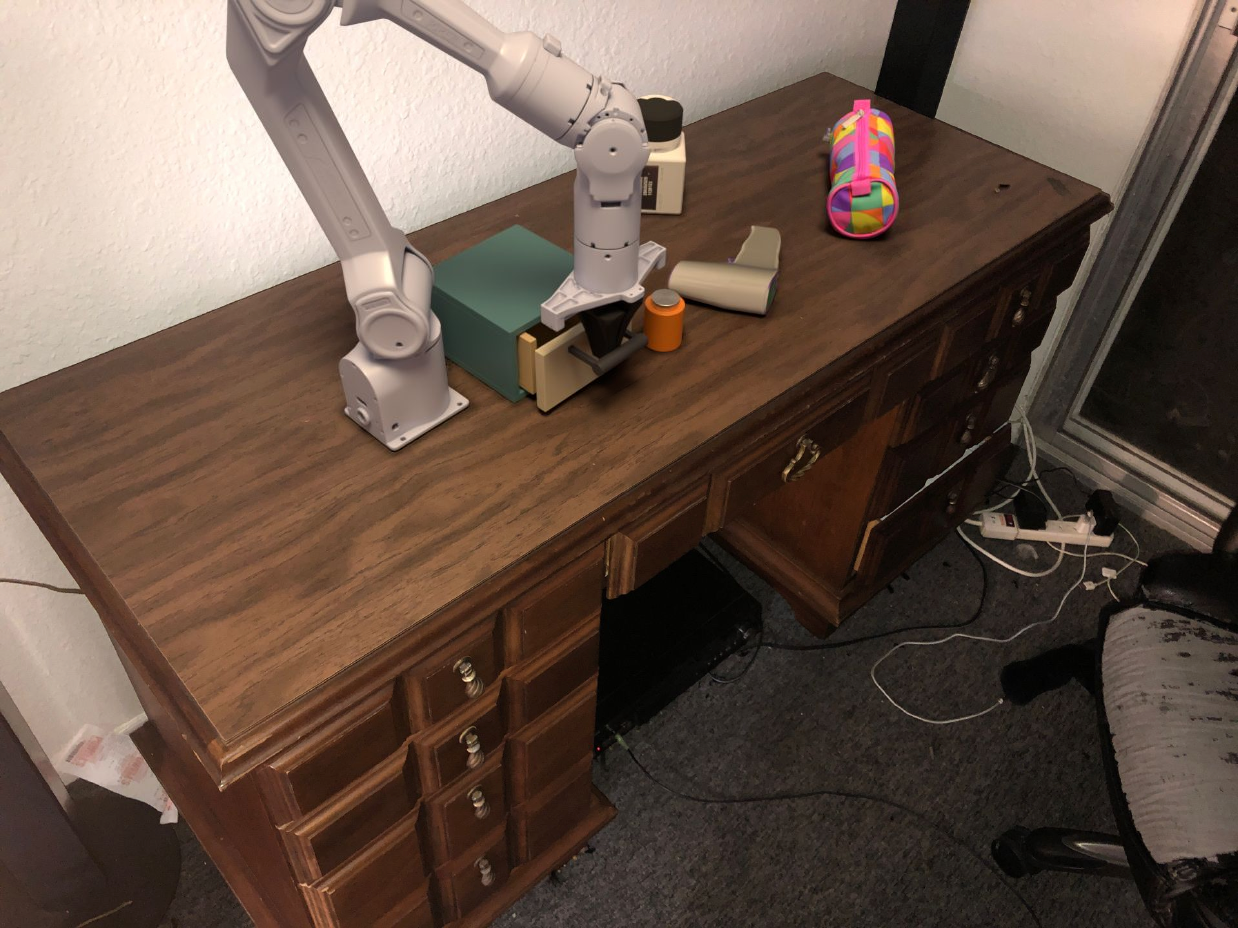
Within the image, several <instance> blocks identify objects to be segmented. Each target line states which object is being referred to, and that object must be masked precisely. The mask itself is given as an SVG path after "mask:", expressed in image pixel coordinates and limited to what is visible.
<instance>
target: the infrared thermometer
mask: <svg viewBox="0 0 1238 928" xmlns="http://www.w3.org/2000/svg"><path fill="white" fill-rule="evenodd" d="M781 240H782V239H781V234H780V231H779V230H778V229H777V228H776V227H770V226H762V225H751V227H750V233H749V236H748V237H747V238H746V240H744V242H743V244H742V245H741V248H740V251H739V253H738V254H737V255H736V257H733V256H732V257H728V258H727V261H704V260H703V261H702V260H687V259H683V260H682V259H681V260H680V261H678V262H677V263H676V264H675V265H674V266H673V268H672V269H671V271H670V274H669V276H668V279H667V284H666V285H667V287H666V289H669V290H673V291H675V292H676V293H678V295H679V296H680V297H681V298H683V299H684V298H685V299H687V300H688V299H689V300H692V301H695V302H699V303H703V304H706V305H710V306H714V307H717V308H720V309H724V310H730V311H735V312H736V311H737V312H743V313H749V314H757V315H763V316H764V315H767V313H768V311H769V310H770V308H771V305H772V303H773V301H774V298H775V296H776V293H777V290H778V287H779V282H780V278H781V269H779V266H780V261H779V258H780V251H781V246H782V245H781V244H782V241H781Z"/></svg>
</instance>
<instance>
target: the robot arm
mask: <svg viewBox="0 0 1238 928" xmlns="http://www.w3.org/2000/svg"><path fill="white" fill-rule="evenodd" d="M335 8H341V15H340V19H339V20H340V21H339V25H340V26H341V27H349V26H354V25H359V24H364V23H369V22H373V21H377V20H387V21H390V22H392V23H394V24H395V25H397V26H399V27H400V28H402V29H403V30H405V31H407V32H409V33H410V34H412V35H414V36H415V37H417V38H419V39H421V40H422V41H424V42H426V43H428V44H429V45H431V46H433V47H434V48H436V49H438V50H439V51H441V52H443V53H444V54H446V55H448V56H449V57H452V58H453V59H455V60H456V61H458V62H460V63H462V64H464V65H465V66H467V67H468V68H470V69H472V70H473V71H475V72H477V73H479V74H480V75H482V76H483V77H484V80H485V82H486V83H485V84H486V87H487V91H488V95H489V98H490V100H491V101H492V102H494V103H496V104H497V105H499V106H500V107H502V108H503V109H505V110H506V111H508V112H510V113H511V114H513V115H514V116H516V117H518V119H521V121H523V122H525V123H527V124H528V125H530V126H531V127H533V128H534V129H536V130H537V131H539V132H541V133H542V134H544V135H545V136H547V137H548V138H550V139H551V140H553V141H554V142H556V143H558V144H559V145H562V146H564V147H567V148H570V149H572V150H573V154H574V160H575V162H576V176H575V179H574V181H573V255H574V270H573V271H572V272H571V273H570V275H569V276H568V277H567V278H566V280H565V281H564V282H563V283H562V285H561V286H560V287H559V288H558V290H557V291H556V292H555V293H554V295H553V296H552V297H551V298H550V299H548V300H547V301H546V302H544V303H543V304H541V322H542V323H543V324H545V325H546V326H548V327H549V328H551V329H553V330H555V331H559V330H561V329H562V328H564V321H565V320H567V319H568V318H570V317H572V316H573V315H575V314H577V316H578V318H579V319H580V321H581V323H582V325H583V327H584V329H585V332H586V334H587V337H588V340H589V344H590V347H591V351H592V354H593V355H594V356H595V357H597V358H598V359H600V358H602V357H603V356H605V355H606V354H608V353H609V352H611V351H612V350H614V349H616V348H617V347H619V346H620V345H621V343H622V340H623V337H624V334H625V332H626V329H627V327H628V325H629V323H630V321H631V319H632V320H633V318H634V316H635V314H636V313H637V312H638V310H639V309H640V308H641V307H642V306H643V304H644V297H645V293H646V292H645V291H646V290H645V289H646V288H645V287H643V286H642V284H643V283H644V281H645V280H646V278H647V277H648V275H649V274H650V273H651V272H652V269H655V270H661V269H662V268H664V267H666V259H667V247H664V246H663V245H660V244H658V243H657V242H654V241H652V240H649V241H647V242H646V243H643V244H641V245H640V240H641V238H640V237H641V221H642V213H641V201H642V183H641V181H640V178H641V174H642V170H643V168H644V167H645V165H646V164H647V162H648V159H649V156H650V152H651V148H650V147H648V137H647V133H646V129H645V125H644V121H643V117H642V113H641V109H640V106H639V103H638V101H637V100H636V99H637V98H636V96H635V95H634V93H633V92H632V91H631V90H630V89H629V88H628V87H627V86H626V84H625V83H624V81H622V80H619V79H615V78H609V77H607V76H606V75H604V74H603V73H601V74H599V76H598V77H597V76H596V75H594V74H593V73H591V72H590V71H588V70H587V69H586V68H584V67H583V66H581V65H580V64H579V63H577V62H575V61H574V60H572V59H571V58H570V57H568V56H567V55H566V54H565V53H563V52H562V42H561V41H560V40H559V39H558V38H556V37H555V36H553V35H552V34H550V33H546V34H545V35H544V36H543V38H541V37H540V36H539V35H537V34H535V33H534V32H533V31H531V30H520V31H512V32H503V31H502V30H501V29H499V28H498V27H497V26H495V25H494V24H493V23H492V22H490V21H489V20H488V19H487V18H485V17H484V16H482V15H481V14H480V13H478V12H477V11H476V10H474V9H473V8H472V7H471V6H469V5H468V4H467V3H465V2H464V1H462V0H226V30H225V31H226V33H225V36H226V37H225V40H226V41H225V58H226V61H227V63H228V66H229V69H230V70H231V72H232V74H233V76H234V77H235V79H236V81H237V82H238V84H239V86H240V88H241V89H242V92H243V93H244V95H245V97H246V98H247V100H248V102H249V104H250V106H251V107H252V109H253V111H254V113H255V115H256V116H257V118H258V119H259V121H260V123H261V124H262V126H263V129H264V130H265V132H266V133H267V135H268V137H269V139H270V141H271V142H272V144H273V146H274V147H275V149H276V151H277V153H278V155H279V156H280V159H281V160H282V162H283V163H284V165H285V167H286V168H287V169H288V172H289V174H290V175H291V177H292V179H293V181H294V183H295V185H296V186H297V188H298V189H299V191H300V193H301V195H302V196H303V198H304V200H305V201H306V203H307V205H308V207H309V209H310V211H311V212H312V214H313V216H314V217H315V219H316V221H317V223H318V224H319V226H320V228H321V229H322V231H323V233H324V235H325V237H326V238H327V240H328V242H329V243H330V246H331V247H332V250H333V251H334V252H335V254H336V256H337V258H338V260H339V261H340V264H341V269H342V274H343V281H344V286H345V292H346V296H347V300H348V303H349V305H350V306H351V308H352V311H353V312H354V316H355V332H356V336H357V338H358V342H357V344H356V345H355V347H353V348H352V349H351V350H350V351H349V352H348V353H347V354H346V355H345V356H343V357H342V358H341V359H340V360H339V362H338V372H339V377H340V381H341V385H342V389H343V395H344V398H345V404H346V407H345V408H344V415H346V416H347V417H348V418H350V419H351V420H352V421H354V423H356V424H357V425H359V426H360V427H362V428H363V429H364V430H365V431H367V433H369V434H370V435H372V436H373V437H374V438H375V439H377V440H378V441H379V442H380V443H382V444H383V445H384V446H385V447H387V448H389V450H391V451H398V450H400V449H401V448H404V447H405V446H406V445H408V444H410V443H411V442H413V441H414V440H416V439H417V438H419V437H421V436H422V435H424V434H426V433H427V432H429V431H430V430H432V429H433V428H435V427H437V426H438V425H440V424H442V423H444V422H445V421H446V420H448V419H450V418H452V417H453V416H454V415H456V414H457V413H460V412H461V411H463V410H464V409H466V408H467V407H469V406H470V401H469V399H468V398H466V397H465V396H463V395H462V394H460V393H459V392H458V391H456V390H455V389H453V388H452V387H451V386H449V381H448V372H447V365H446V357H445V356H444V348H443V340H442V332H441V325H440V322H439V320H438V318H437V317H436V315H435V314H434V313H433V311H432V310H431V308H430V306H431V292H432V288H433V283H434V271H433V268H432V267H433V266H432V264H431V262H430V260H429V259H428V258H427V257H426V256H425V255H424V254H423V253H421V252H420V251H419V250H417V248H415V247H414V246H413V245H412V244H411V243H410V241H409V240H408V238H407V235H406V234H405V231H403V229H400V228H397V227H394V226H393V225H392V224H391V223H390V221H389V218H388V216H387V214H386V212H385V211H384V209H383V207H382V204H381V203H380V200H379V199H378V196H377V195H376V192H375V190H374V189H373V186H372V184H371V182H370V181H369V179H368V177H367V175H366V174H365V173H366V172H365V171H364V169H363V167H362V165H361V163H360V161H359V159H358V158H357V155H356V153H355V152H354V149H353V148H352V146H351V144H350V142H349V140H348V138H347V135H346V134H345V132H344V130H343V128H342V126H341V124H340V122H339V120H338V118H337V115H336V114H335V112H334V110H333V108H332V106H331V104H330V103H329V100H328V99H327V96H326V95H325V92H324V90H323V89H322V87H321V84H320V82H319V80H318V78H317V77H316V75H315V73H314V71H313V69H312V67H311V65H310V63H309V61H308V59H307V57H306V54H305V52H304V50H305V47H306V45H307V42H308V39H309V37H310V36H311V35H312V34H314V33H315V32H316V30H318V28H319V27H320V26H321V25H323V24H324V22H325V21H326V20H327V19H328V18H329V17H330V15H331V14H332V12H333V10H334V9H335Z"/></svg>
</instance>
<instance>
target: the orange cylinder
mask: <svg viewBox="0 0 1238 928" xmlns="http://www.w3.org/2000/svg"><path fill="white" fill-rule="evenodd" d="M685 309H686V303H685V300H684V298H683V297H681V296H679V295H678V293H676V292H675V291H673V290H669V289H668V288H659V289H657V290H654V291H653V292H652V293H651V294H650V295H648V296H647V297H646V299H645V300H644V313H643V330H642V333H643V334H645V335H646V337H647V338H648V345H647V346H646V347H647V348H648V349H650V350H653V351H656V352H661V353H664V352H672V351H675V350H676V349H678V348H679V347H680V346H681V344H682V341H683V331H684V320H685V312H686V311H685Z"/></svg>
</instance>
